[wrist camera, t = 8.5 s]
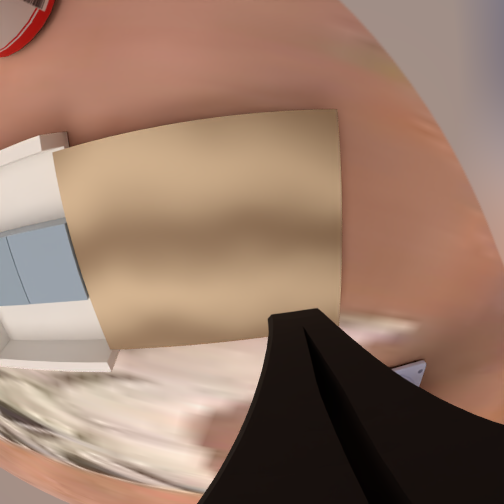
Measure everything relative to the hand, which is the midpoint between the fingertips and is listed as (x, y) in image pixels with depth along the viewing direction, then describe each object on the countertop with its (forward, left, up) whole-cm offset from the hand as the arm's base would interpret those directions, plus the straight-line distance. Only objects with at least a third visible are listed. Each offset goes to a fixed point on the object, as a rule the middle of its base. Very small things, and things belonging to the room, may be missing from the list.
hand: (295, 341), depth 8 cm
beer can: (+16, +13, -10) cm, 23 cm away
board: (0, +3, -10) cm, 10 cm away
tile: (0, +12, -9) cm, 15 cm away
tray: (0, +16, -10) cm, 18 cm away
